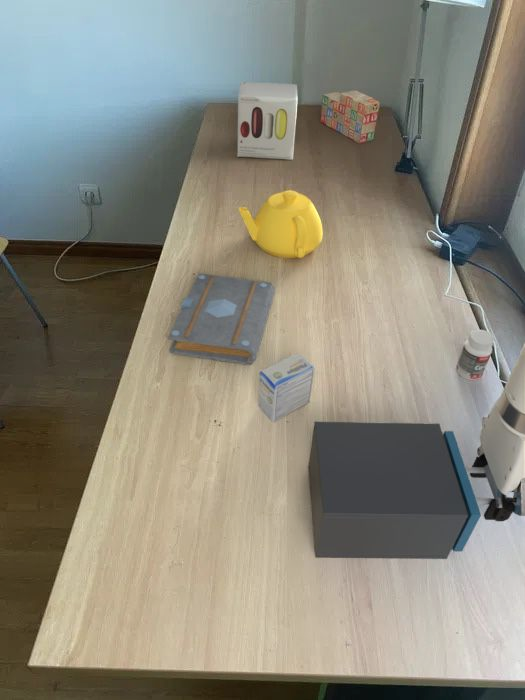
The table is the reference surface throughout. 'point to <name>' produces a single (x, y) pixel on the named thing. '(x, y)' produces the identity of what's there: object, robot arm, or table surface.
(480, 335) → the pill bottle
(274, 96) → the supplement box
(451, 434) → the drawer
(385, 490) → the drawer cabinet
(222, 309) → the book
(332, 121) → the stack of blocks
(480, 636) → the table surface
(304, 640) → the table surface
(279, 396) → the medicine box
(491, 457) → the robot arm
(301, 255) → the teapot
